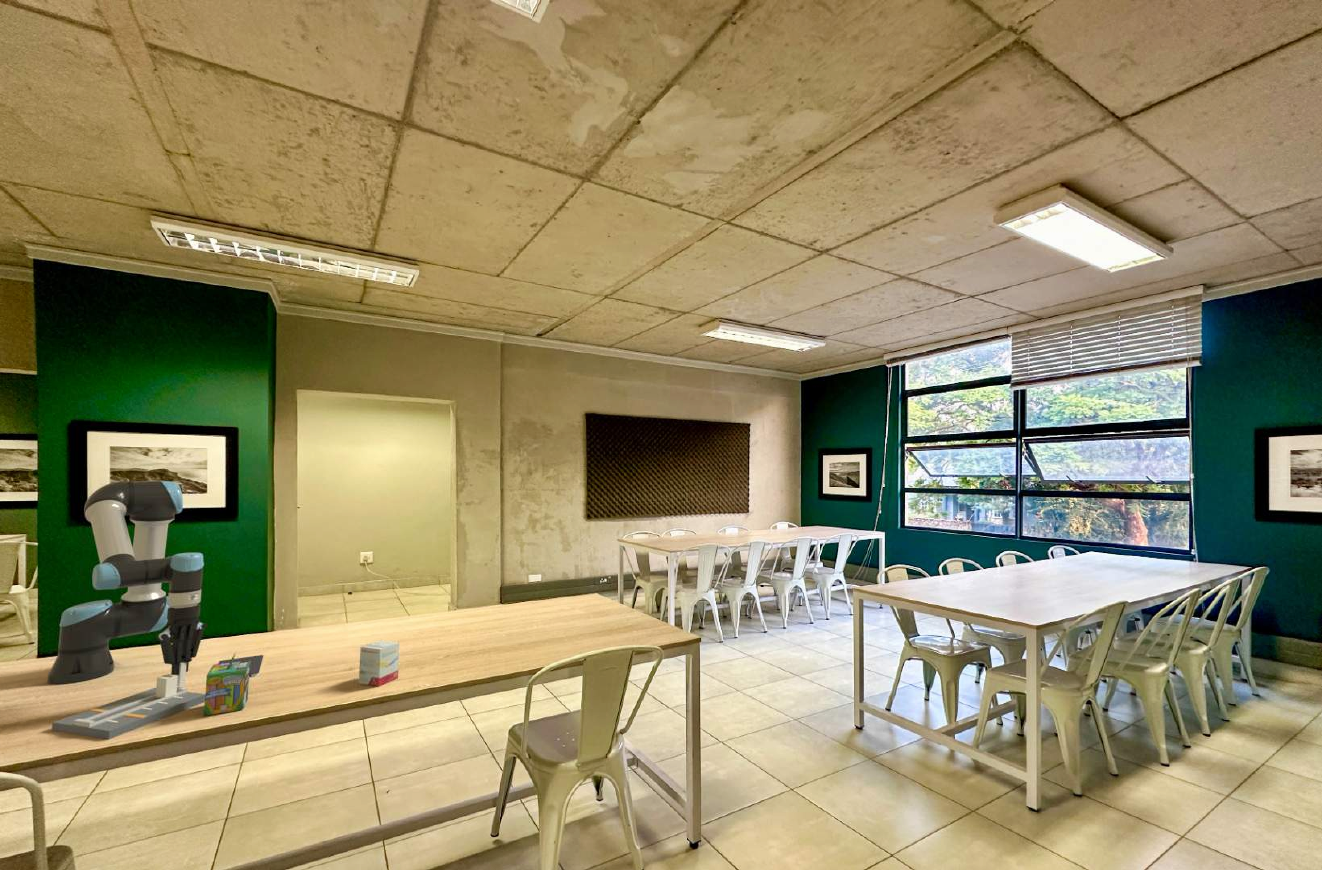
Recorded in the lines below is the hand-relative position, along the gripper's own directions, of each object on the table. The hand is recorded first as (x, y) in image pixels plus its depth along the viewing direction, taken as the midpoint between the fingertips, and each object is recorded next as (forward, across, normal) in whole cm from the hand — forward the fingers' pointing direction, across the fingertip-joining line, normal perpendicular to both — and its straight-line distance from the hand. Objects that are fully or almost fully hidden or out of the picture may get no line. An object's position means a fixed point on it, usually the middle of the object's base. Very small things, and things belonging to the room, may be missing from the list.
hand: (178, 685), depth 164 cm
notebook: (+5, +24, +6) cm, 25 cm away
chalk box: (+4, -2, -20) cm, 21 cm away
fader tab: (+2, -3, 0) cm, 4 cm away
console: (+4, -11, 0) cm, 12 cm away
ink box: (+4, +27, -48) cm, 55 cm away
